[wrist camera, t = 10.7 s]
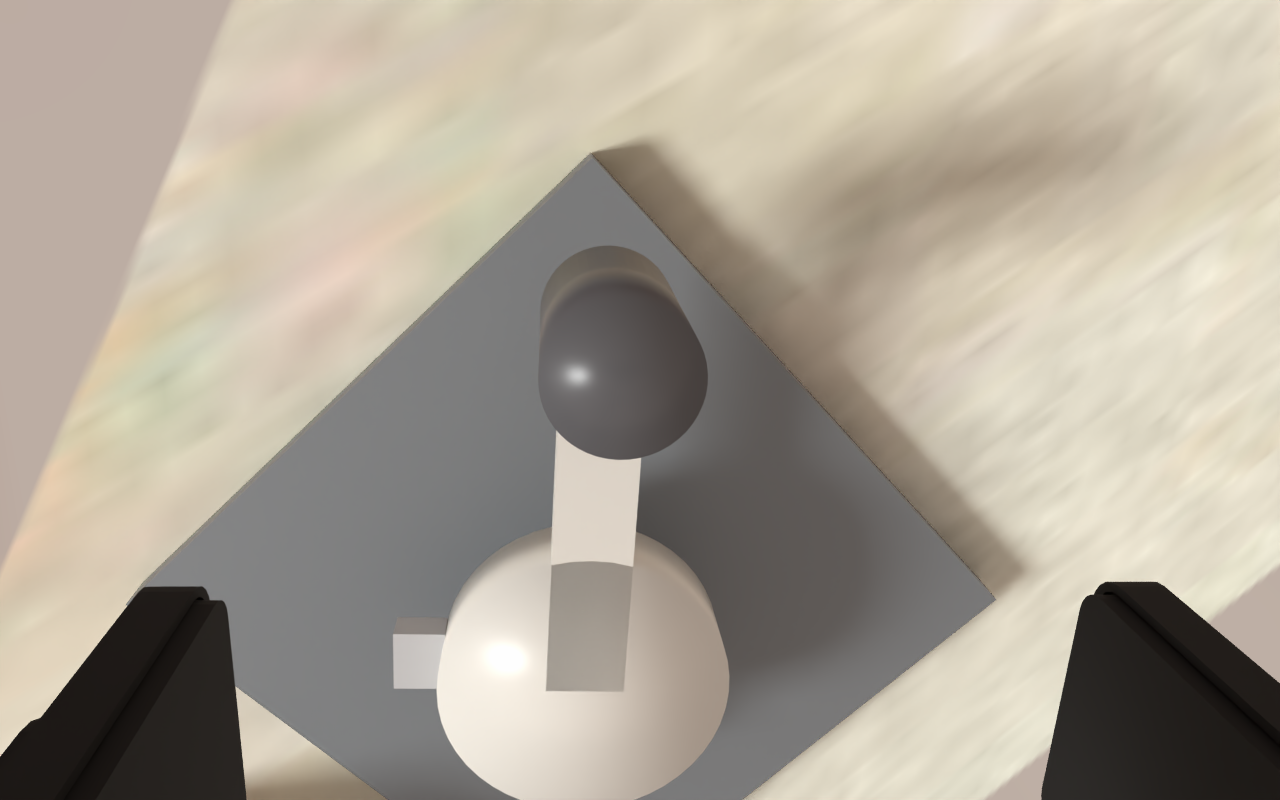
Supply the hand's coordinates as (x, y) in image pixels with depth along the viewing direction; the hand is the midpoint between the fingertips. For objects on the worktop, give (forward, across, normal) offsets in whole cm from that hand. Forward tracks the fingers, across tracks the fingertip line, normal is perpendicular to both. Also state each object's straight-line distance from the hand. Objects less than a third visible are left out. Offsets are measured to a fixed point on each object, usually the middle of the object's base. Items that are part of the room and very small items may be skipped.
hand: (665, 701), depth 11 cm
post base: (+24, 0, +12) cm, 26 cm away
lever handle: (+19, +1, +8) cm, 21 cm away
